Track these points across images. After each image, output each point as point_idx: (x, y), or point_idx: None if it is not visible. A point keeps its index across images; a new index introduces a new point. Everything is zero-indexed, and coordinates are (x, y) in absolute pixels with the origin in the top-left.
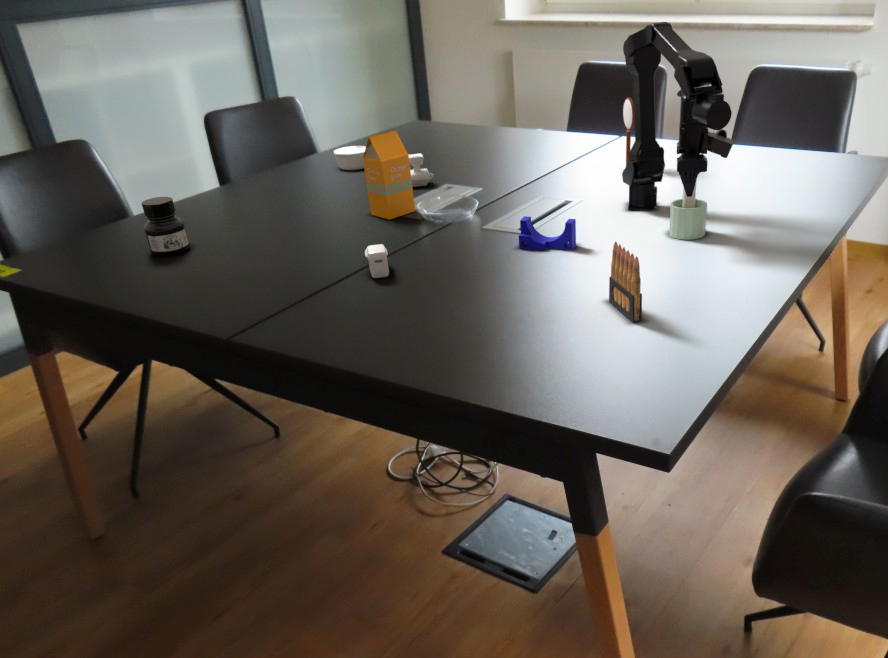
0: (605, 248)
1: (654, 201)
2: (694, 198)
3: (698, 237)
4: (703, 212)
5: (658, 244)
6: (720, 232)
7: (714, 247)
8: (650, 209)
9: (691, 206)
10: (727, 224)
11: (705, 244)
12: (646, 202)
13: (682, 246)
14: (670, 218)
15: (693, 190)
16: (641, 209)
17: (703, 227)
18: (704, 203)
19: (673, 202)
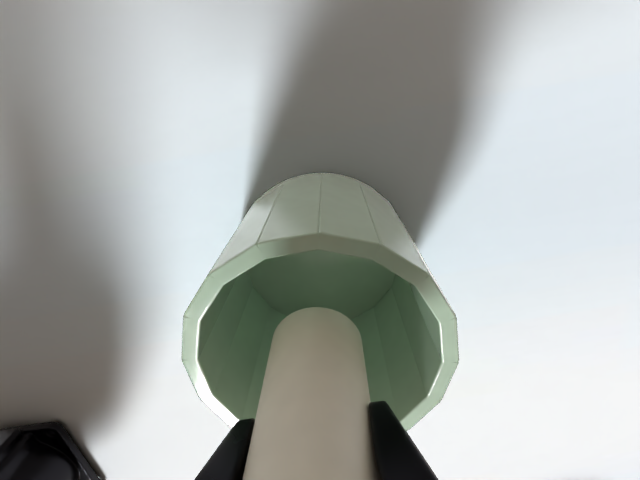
0: (523, 473)
1: (10, 449)
2: (336, 359)
3: (382, 196)
4: (383, 229)
5: (476, 338)
6: (256, 93)
7: (518, 86)
8: (65, 433)
9: (356, 332)
10: (102, 74)
11: (469, 144)
12: (44, 470)
13: (501, 245)
14: None
15: (414, 447)
16: (81, 457)
17: (358, 190)
18: (265, 257)
19: None
